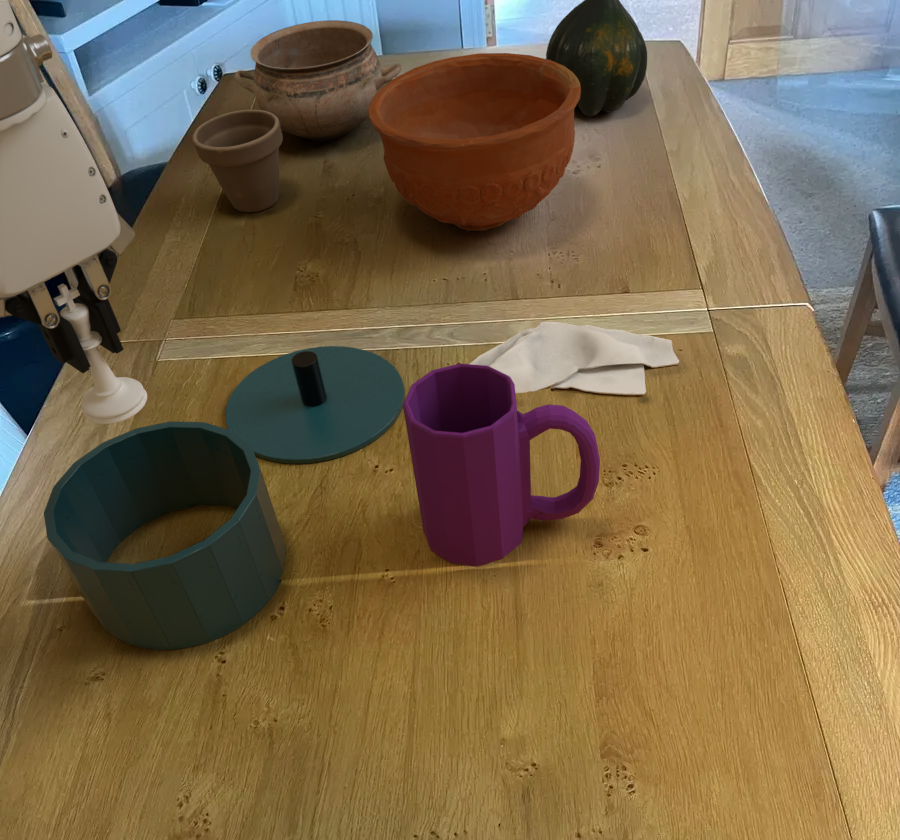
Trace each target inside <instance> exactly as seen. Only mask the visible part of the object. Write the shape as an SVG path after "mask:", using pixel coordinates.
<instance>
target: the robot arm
mask: <svg viewBox="0 0 900 840" xmlns="http://www.w3.org/2000/svg"><path fill="white" fill-rule="evenodd" d="M52 58H53V51H52V48H51V45H50V43H49V42H48V41H47V39H46V38H45V36H44V35H43V34H41V33H38V34H35V35H32V36H29V35H26V34H25V33H22V32H21V29H20V26H19V24H18V21H17V19H16V16H15V14H14V12H13V8H12V6H11V4H10V2H9V0H0V318H6V317H12V316H13V317H14V318H18V319H21V320H24V321H28V322H31V323H34V324H37V325H38V328H39V331H40V332H41V334H42V337H43V338H44V340H45V342H46V345H47V346H48V348H49V351H50V352H51V354H52V356H53V357H54V358H55V359H56V360H57V362H59V363H60V364H62V365H64V364H66V363H67V364H68V365H69V366H71V367H72V368H74V369H75V370H76V371H78V372H80V373H81V374H85V373H87V372H88V371H90V368H89V367H91V366H90V363H89V361H88V359H87V357H86V355H85V353H84V350H83V348H82V346H81V344H80V342H79V339H78V337H77V335H76V333H75V331H74V329H73V326H72V325H71V323H70V322H69V321H68V320H66V319H65V318H63V317H61V315H60V311H58V310H57V308H56V306H55V302H54V300H53V299H52V297H51V295H50V292H49V290H48V288H47V286H46V284H45V283H46V282H47V281H49V280H51V279H52V278H55V277H57V276H59V275H60V274H62V273H64V272H67V271H68V270H69V272H70V274H71V276H72V278H73V281H74V284H76V289H78V291H79V294H80V296H78V297H76V298H74V299H73V300H74V301H75V303H80V304H84V305H86V306H87V307H88V309H89V322H90V331H96V332H98V333H99V334H100V336H101V337H102V341H101V343H100V344H99V345H98V346H101V347H102V348H104V349H105V350H107V351H109V352H110V353H112V354H120V353H121V352H123V351H124V347H123V345H122V342H121V340H120V338H119V335H118V334H119V333H121V331H122V330H121V326H120V325H119V324H120V323H119V321H118V319H117V316H116V315H115V312H114V310H113V307H112V305H111V303H110V300H109V299H110V297H111V295H112V287H111V285H110V284H111V281H112V278H113V275H114V272H115V271H116V270H115V269H116V266H117V264H118V259H119V257H121V256H123V254H124V253H125V251H126V250H127V249H128V248H129V246H130V245H131V244H132V243H133V241H134V240H135V238H136V232H135V229H133V228H132V226H130V224H128V222H126V220H125V219H124V218H123V217H122V216H121V215H120V214H119V213H118V211H117V209H116V206H115V205H114V201H113V199H112V197H111V194H110V192H109V190H108V187H107V185H106V182H105V181H104V178H103V176H102V174H101V172H100V170H99V167H98V165H97V163H96V161H95V158H94V157H93V155H92V153H91V151H90V149H89V147H88V146H87V144H86V141H85V140H84V138H83V136H82V134H81V133H80V130H79V129H78V127H77V126H76V124H75V122H74V120H73V119H72V117H71V115H70V113H69V112H68V110H67V108H66V107H65V105H64V103H63V102H62V100H61V99H60V97H59V96H58V94H57V92H56V91H55V90H54V88H52V86H50V85H48V84H46V83H45V81H44V78H43V75H42V72H41V69H40V67H41V66H42V65H43V64H44V62H45V61H48V60H51V59H52Z"/></svg>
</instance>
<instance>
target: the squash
mask: <svg viewBox="0 0 900 840" xmlns="http://www.w3.org/2000/svg"><path fill="white" fill-rule="evenodd" d="M545 59H548V60H551V61H554V62H556V63H558V64H561V65H563V66H565V67H566V68H568V69H569V70H570V71H572V72H573V73H574V75H575V76H576V77H577V78H578V80H579V82H580V88H581V93H580V99H579V101H578V103H577V105H576V107H578V108H579V110H580V112H581V113H582V114H584V115H585V116H588V117H594V116H596V115H598V114H599V113H600V112H601V111H604V112H606V113H607V112H608V113H609V112H610V113H611V112H614V111H615V110H618V109H619V108H620V107H622V106H623V105H624V103H625V101H628V100H629V99H630V98H632V97H633V96H635V95H636V94H637V92H638V91H639V89H640V88H641V86H642V85H643V83H644V80H645V77H646V73H647V68H648V49H647V45H646V41H645V39H644V37H643V34H642V33H641V31H640V28H639V27H638V24H637V23H636V22H635V20H634V18H633V17H632V15H631V14H630V13H629V11H628V10H627V9H626V8H625V7H624V5H623V4H622V3H621V1H620V0H583V1H581V2H580V3H579V4H577V5H575V7H574V8H573V9H571V11H569V13H567V14H566V15H565V16H564V17H563V18H562V19H561V21H560V22H559V23H558V25H556V27H555V29H554V31H553V33H552V34H551V37H550V38H549V41H548V45H547V48H546V52H545Z"/></svg>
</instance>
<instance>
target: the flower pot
mask: <svg viewBox="0 0 900 840" xmlns="http://www.w3.org/2000/svg"><path fill="white" fill-rule="evenodd" d="M282 131H283V130H281V127H280V122H279V120H278V118H277V117H276V116H275V115H274V114H272V113H270V112H267V111H263V110H260V109H241V110H235V111H229V112H226V113H222V114H220V115H216V116H214V117H212V118H210V119H208V120H206V121H205V122H203V123H202V124H201V125H199V126H198V127H197V128H196V129H195V130H194V132H193V134H192V142H193V145H194V148H195V150H196V153H197V156H198V158H199V160H201V161H202V162H203V163H205V164H207V165H208V166H209V168H210V169H211V171H212V173H213V175H214V177H215V178H216V180H217V182H218V184H219V186H220V188H221V189H222V191H223V192H224V194H225V196H226V197H227V200H228V201H229V202H230V203H231V205H232V208H234V209H235V210H236V211H239V212H242V213H257V212H261V211H264V210H267V209H268V208H271V207H272V206H273V205H275V204H276V203H277V202H278V200H279V198H280V158H279V157H280V156H279V155H280V154H279V148H280V146H282V144H283V140H284V139H283V137H284V136H283V132H282Z"/></svg>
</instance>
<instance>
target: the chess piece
mask: <svg viewBox="0 0 900 840" xmlns="http://www.w3.org/2000/svg"><path fill="white" fill-rule="evenodd" d="M56 287H57V289H58V291H59V293H60V295H58V296H55V297H53V302H54V305H56V306H57V307H61V306H63V305H65V306H64V307H63V308H62V309H61V310H60V311H59V313H60V315H61V317H63V318H65V319H66V320H68V321H69V322H70V323H71V325H72V326H73V329H74V331H75V333H76V335H77V337H78V339H79V342H80V344H81V346H82V348H83V350H84V353H85V355H86V357H87V359H88V361H89V363H90V366H91V367H89V371H90V375H91V378H92V381H93V386H91V387H90V388H88V390H86V392H85V393H84V395H83V396H82V397H81V400H80V408H81V410H82V415H83V417H84V418H85V419H86V420H87V421H88V422H90V423H93V424H98V425H112V424H117V423H121V422H123V421H126V420H128V419H130V418H132V417H134V416H136V415H137V414H138V413H139V412H140V411H141V410H142V409H143V408H144V407H145V405H146V403H147V401H148V392H147V390H146V389H145V388H144V386H143V384H142V383H141V382H140V381H139V380H137V379H135V378H132V377H127V376H116V375H115V374H114V372H113V371H112V369H111V368H110V366H109V365H108V363H107V361H106V360H105V358H104V357H103V354H102V353H101V351H100V349H99V348H98V346H100V345H99V344H100V343H101V341H102V337H101V336H100V334H99V333H98V332H96V331H90V322H89V309H88V307H87V306H86V305H84V304H80V303H76V302H74V300H75V299H74V298H76V297H78V296H80V294H79V291H78V289H77V287H72V288H71V289H68V286H67V284H64V283H61V284H59V285H57V286H56Z"/></svg>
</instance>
